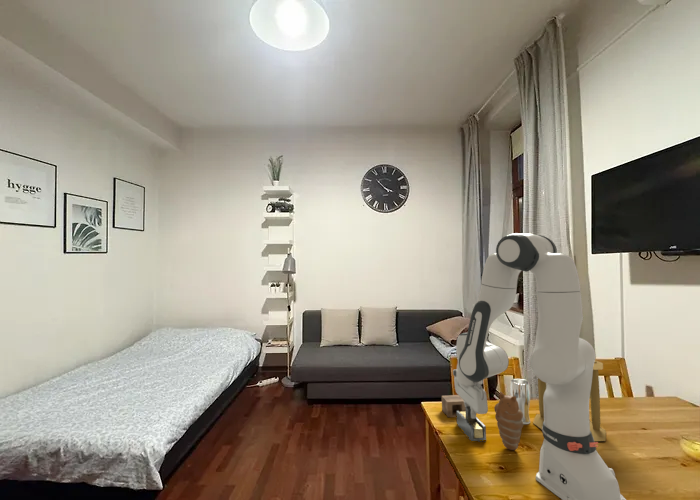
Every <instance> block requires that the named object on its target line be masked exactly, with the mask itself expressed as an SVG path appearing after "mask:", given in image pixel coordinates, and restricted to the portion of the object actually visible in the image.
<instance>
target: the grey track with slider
mask: <svg viewBox="0 0 700 500" xmlns="http://www.w3.org/2000/svg"><path fill="white" fill-rule="evenodd" d="M476 422H477V423H478V424H479V425H480V427H481V428H482V429H483V438H474V432H473V426H472V425H471V424H470V423H469V422H468V421H467V419H466V418H465V417H464V416H463V415H462V414H461V413H460V412H459V411H457V417H456V425H457V424H458V425H457V426H458V428H459V429H460V428H461V429H462V430H463V431H464V432H463V431H462V430H461V429H460V430H461V431H462V432H463V434H466V435H467V436H468V437H469V438H468V437H467V436H466V435H465V436H466V437H467V438H468V440H469V441H470V440H471V441H478V442H484V441H483V440H486V441H487V427H486V425H485V424H484V422H482V421H481V419H479V418H478V417H477V416H476ZM480 440H482V441H480ZM471 441H470V442H471Z"/></svg>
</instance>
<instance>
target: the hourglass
mask: <svg viewBox="0 0 700 500" xmlns="http://www.w3.org/2000/svg"><path fill="white" fill-rule="evenodd" d="M603 369H604V363H603V362H602V361H598V360H596V359H595V362H594V366H593V376H592V384H591V391H590V398H589V400H590V413H591V414H590V415H591V420H590V431H591V433H592V436H593V438H594V442H606V439H607V436H606V435H607V434H606V429H605V428H603V427H602V426H601V396H600V394H601V393H600V380H599V379H600V378H599V371H600V370H603ZM546 387H547V383H545V382H543V381H541V380H540V379H539V378H537V390H538V391H537V392H538V411H539V413H536V415H535V416H534V419H533V421H532V423H533V424H534V425H535V426H537V428H539V429H540V430H541V431H542V426H543V422H544V402H543V396H544V392H545V390H546Z"/></svg>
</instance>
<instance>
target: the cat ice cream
mask: <svg viewBox="0 0 700 500" xmlns="http://www.w3.org/2000/svg"><path fill="white" fill-rule="evenodd" d="M499 396H500V397H499V398H500V399H499V401H498V403H496V404H495V405H494V409H493V410H494V413H495V414H494V415H495V420H496V421H497V423H496V426H497V428H498V432H499V437H500V438H501V442H502V445H503V446H504V447H505V448H506V449H507V450H510V451H516V450H518V448H519V443H520V442H521V441H520V440H521V435H522V429H523V427H524V424H523V422H522V418H523V413H522V411H521V410H520V409H519V405H518V402H517V400H516V396H511V394H510V395H509V394H506V395H505V394H504V392H502V391H500V393H499Z"/></svg>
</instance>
